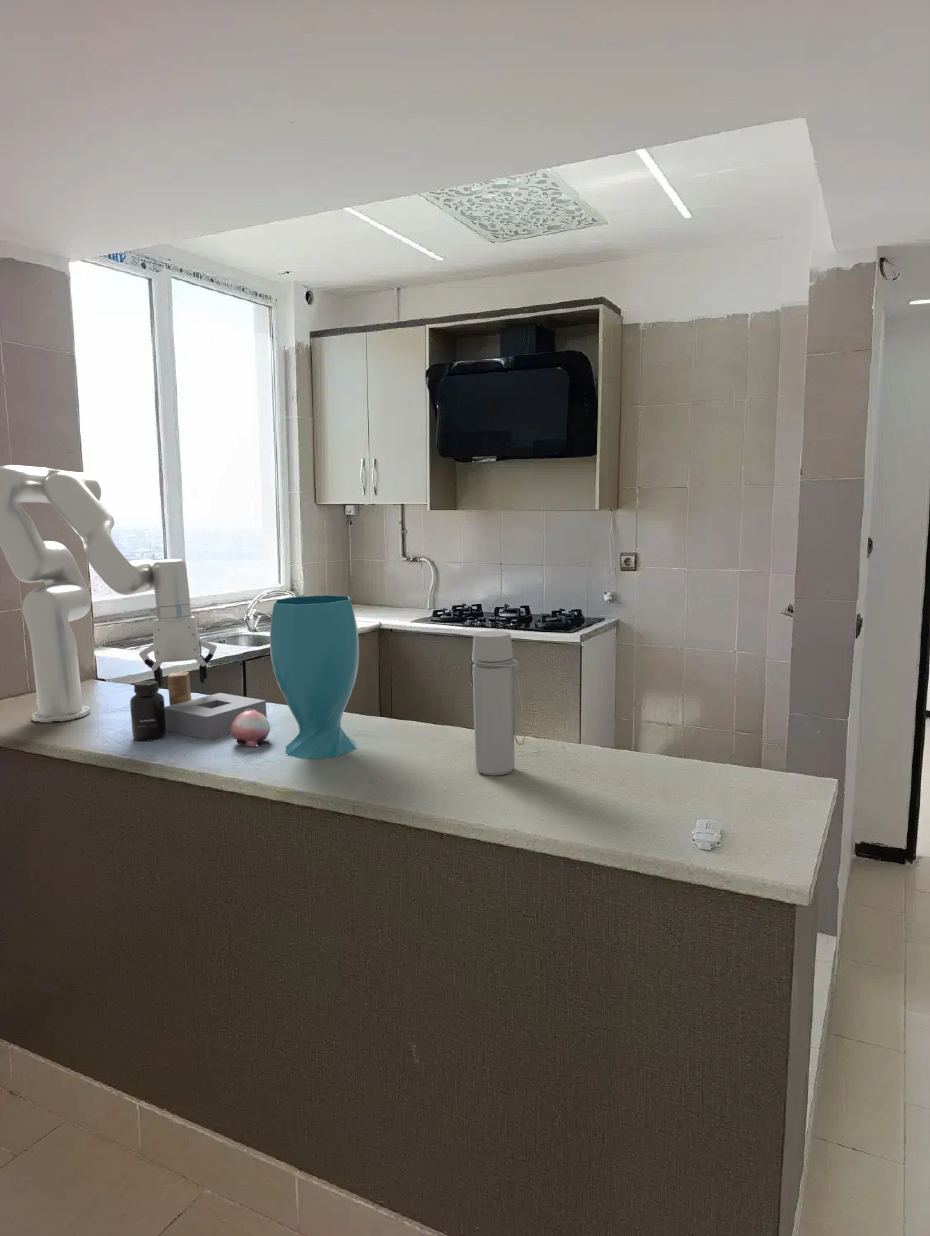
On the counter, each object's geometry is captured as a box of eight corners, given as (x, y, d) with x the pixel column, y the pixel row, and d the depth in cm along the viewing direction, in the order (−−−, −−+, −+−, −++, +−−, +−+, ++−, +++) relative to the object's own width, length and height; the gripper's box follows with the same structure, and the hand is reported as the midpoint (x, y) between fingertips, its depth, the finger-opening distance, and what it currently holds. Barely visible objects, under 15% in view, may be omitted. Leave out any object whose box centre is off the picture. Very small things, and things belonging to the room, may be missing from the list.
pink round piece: (257, 740, 172) (267, 708, 172) (271, 752, 166) (281, 719, 165) (222, 735, 167) (231, 702, 167) (234, 748, 161) (244, 713, 161)
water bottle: (472, 777, 142) (467, 637, 138) (477, 763, 149) (473, 630, 146) (524, 778, 140) (521, 637, 137) (527, 764, 148) (524, 630, 145)
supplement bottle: (144, 743, 169) (139, 687, 167) (126, 738, 173) (121, 684, 171) (173, 735, 174) (168, 681, 172) (155, 731, 178) (151, 678, 176)
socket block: (162, 729, 179) (160, 707, 178) (221, 713, 192) (219, 692, 191) (208, 739, 170) (207, 716, 169) (267, 721, 183) (265, 700, 182)
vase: (381, 742, 164) (374, 596, 160) (321, 766, 150) (312, 607, 146) (320, 731, 174) (312, 593, 170) (258, 752, 160) (248, 603, 156)
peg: (170, 718, 189) (167, 676, 187) (174, 713, 193) (170, 673, 191) (189, 717, 189) (186, 675, 188) (192, 712, 193) (189, 671, 192)
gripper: (131, 617, 182) (140, 691, 185) (210, 611, 185) (217, 683, 188) (138, 613, 190) (147, 684, 192) (214, 607, 193) (221, 677, 195)
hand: (182, 683), depth 190 cm, fingers open, 9 cm apart
